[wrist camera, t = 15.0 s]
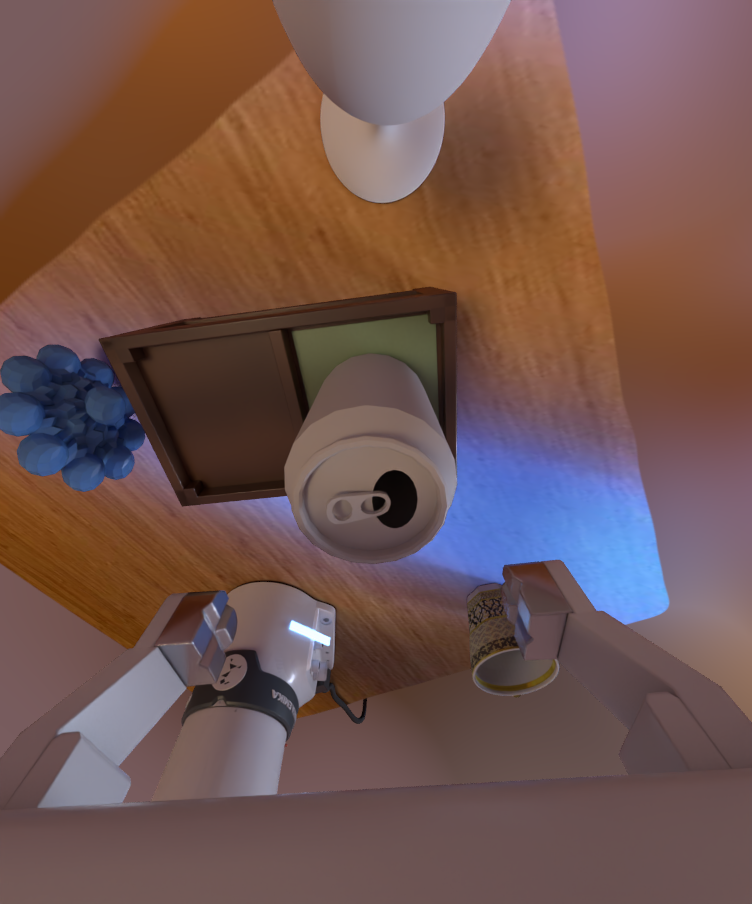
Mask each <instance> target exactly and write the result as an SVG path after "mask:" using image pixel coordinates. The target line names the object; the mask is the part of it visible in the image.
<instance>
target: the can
mask: <svg viewBox="0 0 752 904" xmlns="http://www.w3.org/2000/svg"><path fill="white" fill-rule="evenodd" d="M284 471H285V491H286V494H287V496H288V499H289V501H290V504H291V506H292V512H293V515H294V517H295V519H296V522H297V524H298V527H299V529H300V530H301V531H302V532H303V533H304V535H305V536H306V537H307V538H308V539H309V540H310V541H311V543H312V544H314V545H315V546H317V547H318V548H320V549H321V550H323V551H325V552H326V553H328V554H329V555H331V556H334V557H337V558H340V559H343V560H347V561H350V562H356V563H368V564H377V563H384V562H391V561H396V560H399V559H401V558H404V557H406V556H409V555H411V554H414V553H416V552H417V551H419V550H420V549H421V548H423V547H424V546H425V545H427V544H428V543H429V542H431V541H432V540H433V539H434V537H435V536H436V534H437V533H438V532H439V530H440V529H441V527H442V526H443V525H444V522H445V518H446V515H447V511H448V509H449V508H450V506H451V504H452V501H453V497H454V494H455V490H456V486H457V476H456V466H455V460H454V457H453V455H452V453H451V450H450V448H449V446H448V443H447V441H446V439H445V436H444V434H443V431H442V429H441V427H440V424H439V422H438V420H437V417H436V415H435V413H434V410H433V408H432V406H431V403H430V401H429V399H428V396H427V394H426V392H425V389H424V387H423V385H422V384H421V382H420V380H419V378H418V376H417V375H416V374H415V373H414V372H413V371H412V370H411V369H410V368H409V367H408V366H407V365H406V364H405V363H403V362H401V361H399V360H397V359H395V358H393V357H390V356H388V355H380V354H371V353H369V354H364V355H359V356H354V357H351V358H349V359H348V360H346V361H344V362H342V363H341V364H339V365H337V366H336V367H335V368H334V369H333V371H332V372H331V373H330V374H329V375H328V376H327V378H326V379H325V380H324V382H323V384H322V386H321V388H320V390H319V392H318V394H317V396H316V398H315V401H314V403H313V405H312V407H311V409H310V411H309V413H308V415H307V417H306V419H305V421H304V423H303V425H302V427H301V429H300V431H299V433H298V435H297V437H296V439H295V441H294V443H293V445H292V448H291V451H290V453H289V456H288V459H287V461H286V464H285V467H284Z"/></svg>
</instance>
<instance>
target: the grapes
mask: <svg viewBox="0 0 752 904" xmlns="http://www.w3.org/2000/svg"><path fill="white" fill-rule="evenodd" d="M0 373H1V378H2V382H3V384H4V385H5V386H6V387H7V388H8V389H9V390H10V391H11V392H13V393H4V394H2V395H1V396H0V429H1V430H2V431H3V432H4V433H6V434H10V435H14V436H24V435H29V436H28V437H26V438H25V439H23V440H22V441H21V442H20V444H19V447H18V449H17V455H18V460H19V464H20V465H21V466H22V467H23V468H25V469H26V470H27V471H28V472H30V473H31V474H35V475H39V476H47V475H51V474H55V473H57V472H58V471H60V470H61V472H62V477H63V480H64V482H65V483H66V484H67V485H69V486H70V487H71V488H72V489H74V490H77V491H82V492H85V491H89V490H93V489H95V488H96V487H97V486H98V485H99V484H100V483H101V482H102V481H103V479H104V477H105V476H106V477H107V478H110V479H115V480H117V479H121V478H125V477H126V476H127V475H128V474H129V473H130V472H131V471H132V469H133V466H134V463H135V462H134V456H133V454H132V452H131V451H134V450H137V449H138V448H139V447H140V446H141V445H142V444H143V442H144V439H145V431H144V429H143V427H142V425H141V424H140V423H139V422H137V421H136V420H133V419H130V418H129V417H131V416H132V415H133V414H134V413H135V411H134V409H133V407H132V405H131V403H130V401H129V399H128V397H127V395H126V393H125V391H124V389H123V387H120V386H119V387H112V384H113V382H114V375H113V372H112V370H111V368H110V366H108V365H107V364H106V363H105V362H103V361H100V360H97V359H95V358H91V359H84V360H83V361H81V362H80V360H79V358H78V356H77V355H76V353H74V352H73V351H72V350H71V349H69V348H66V347H64V346H61V345H47V346H45V347H43V348H41V349H40V350H39V352H38V355H37V357H36V359H34V358H31V357H28V356H13V357H11V358H9V359H8V360H6V361H4V363H3V365H2V367H1V370H0Z"/></svg>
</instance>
